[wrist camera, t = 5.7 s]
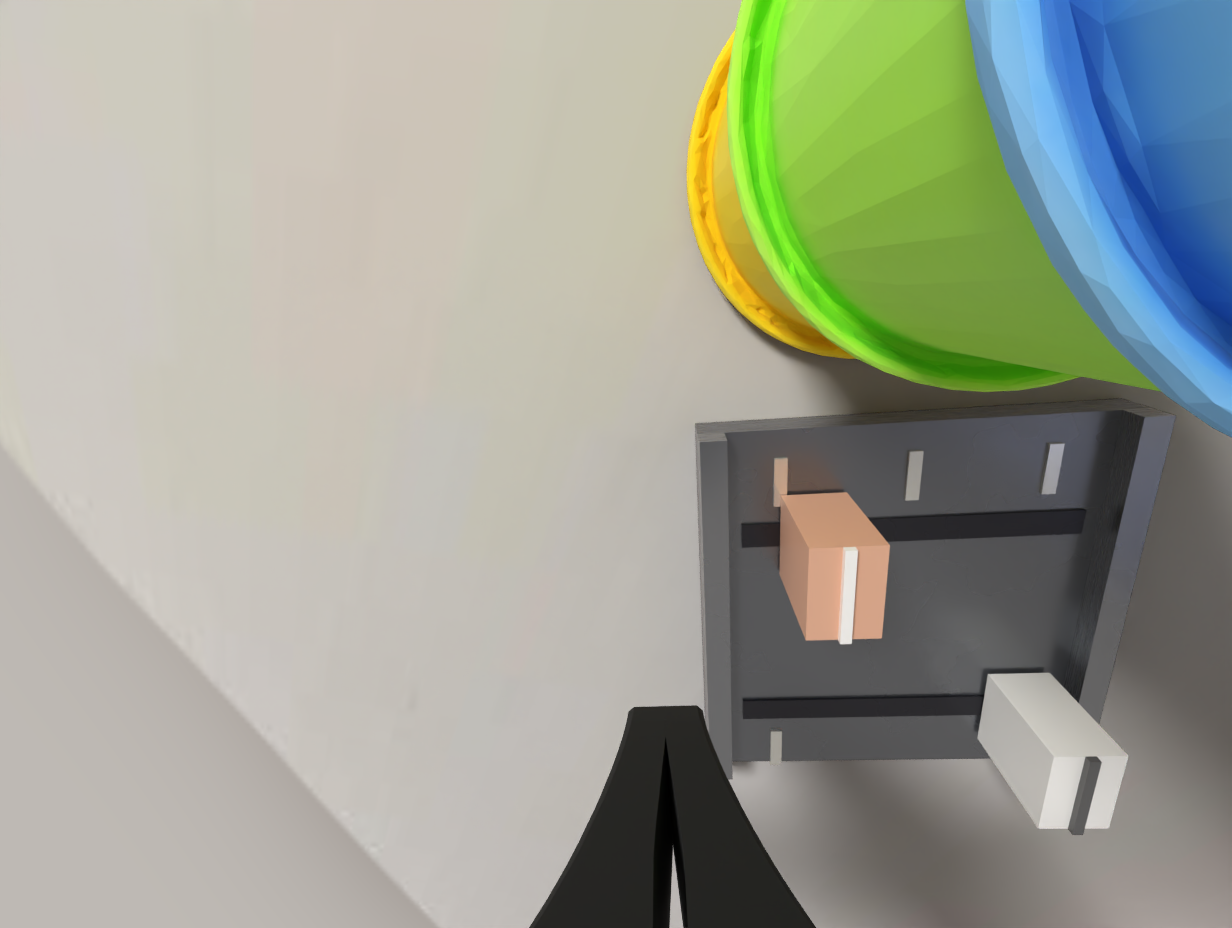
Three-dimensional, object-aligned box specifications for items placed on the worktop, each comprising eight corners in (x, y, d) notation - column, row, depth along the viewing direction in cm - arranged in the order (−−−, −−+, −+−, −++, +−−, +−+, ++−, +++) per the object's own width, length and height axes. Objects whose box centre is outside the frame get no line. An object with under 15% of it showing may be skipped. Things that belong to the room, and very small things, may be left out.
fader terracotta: (846, 492, 18) (893, 549, 15) (842, 572, 19) (884, 642, 16) (780, 495, 18) (811, 552, 15) (779, 574, 19) (807, 645, 16)
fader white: (1049, 672, 20) (1134, 762, 16) (1036, 737, 21) (1113, 834, 17) (987, 674, 20) (1058, 762, 16) (977, 738, 21) (1041, 835, 17)
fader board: (1121, 398, 18) (1176, 415, 16) (1049, 733, 22) (1085, 778, 20) (695, 423, 19) (699, 442, 17) (705, 739, 23) (710, 781, 21)
